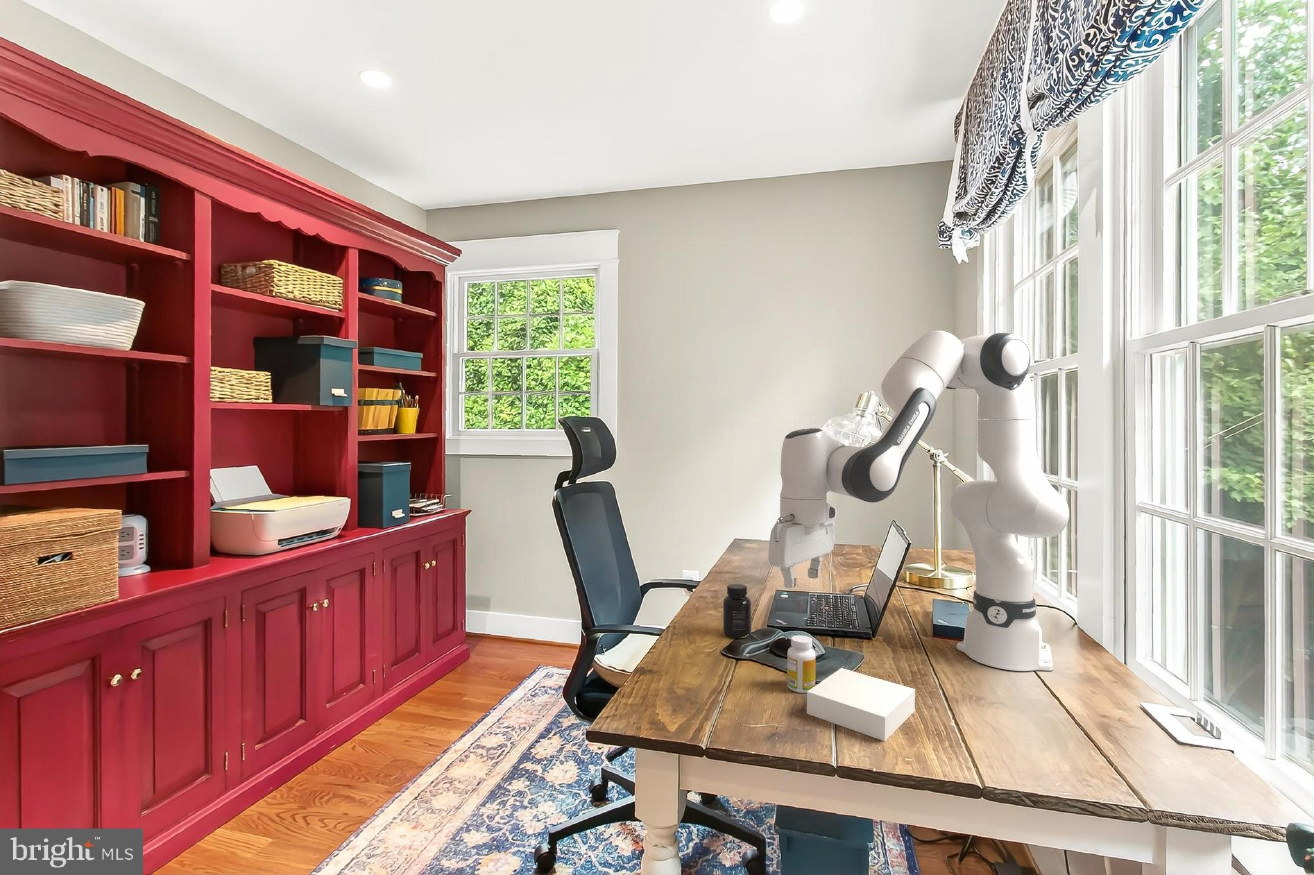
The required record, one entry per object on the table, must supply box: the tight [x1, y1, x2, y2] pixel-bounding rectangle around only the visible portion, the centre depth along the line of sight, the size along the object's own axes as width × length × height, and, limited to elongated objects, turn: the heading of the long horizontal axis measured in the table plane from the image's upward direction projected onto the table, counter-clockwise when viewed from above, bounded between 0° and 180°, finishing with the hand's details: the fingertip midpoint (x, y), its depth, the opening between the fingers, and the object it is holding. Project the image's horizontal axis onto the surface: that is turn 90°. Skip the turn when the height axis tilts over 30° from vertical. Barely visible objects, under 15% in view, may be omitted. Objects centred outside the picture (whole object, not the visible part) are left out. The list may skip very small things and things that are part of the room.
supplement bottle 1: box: [722, 583, 752, 640], centre depth 149 cm, size 7×7×12 cm
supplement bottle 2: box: [786, 635, 817, 694], centre depth 119 cm, size 5×5×10 cm
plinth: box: [806, 667, 916, 742], centre depth 109 cm, size 14×14×4 cm
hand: (802, 582), depth 119 cm, fingers open, 8 cm apart
